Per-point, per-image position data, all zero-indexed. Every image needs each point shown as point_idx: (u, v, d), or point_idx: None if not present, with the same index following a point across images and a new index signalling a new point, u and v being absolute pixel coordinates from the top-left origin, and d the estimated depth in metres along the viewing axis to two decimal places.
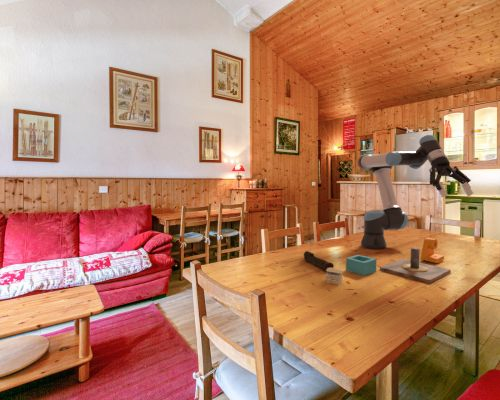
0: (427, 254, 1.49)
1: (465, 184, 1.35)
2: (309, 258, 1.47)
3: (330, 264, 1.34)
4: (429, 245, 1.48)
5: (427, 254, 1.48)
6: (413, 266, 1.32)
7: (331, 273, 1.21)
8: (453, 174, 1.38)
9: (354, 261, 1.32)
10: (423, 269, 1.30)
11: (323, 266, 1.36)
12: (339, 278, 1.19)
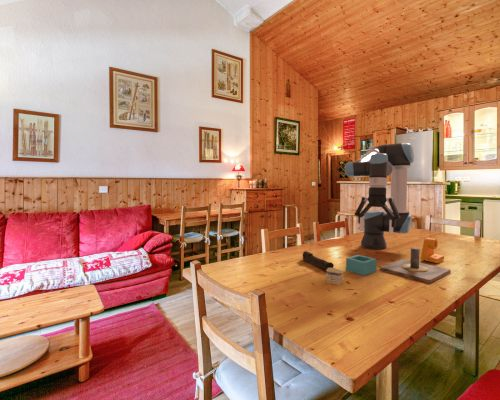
0: (427, 254, 1.49)
1: None
2: (308, 258, 1.47)
3: (330, 264, 1.34)
4: (429, 245, 1.48)
5: (427, 254, 1.48)
6: (413, 266, 1.32)
7: (331, 273, 1.21)
8: None
9: (354, 261, 1.32)
10: (423, 269, 1.30)
11: (323, 266, 1.36)
12: (339, 278, 1.19)
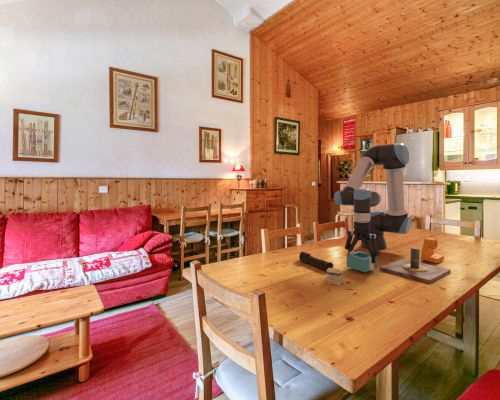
0: (427, 254, 1.49)
1: None
2: (306, 259, 1.47)
3: (330, 264, 1.34)
4: (429, 245, 1.48)
5: (427, 254, 1.48)
6: (413, 266, 1.32)
7: (331, 273, 1.20)
8: None
9: (355, 258, 1.32)
10: (423, 269, 1.30)
11: (323, 266, 1.36)
12: (339, 279, 1.18)
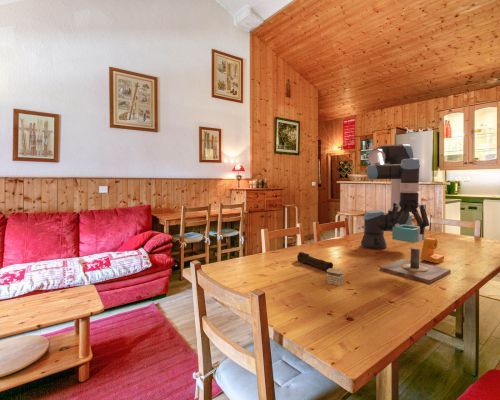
0: (427, 254, 1.49)
1: None
2: (305, 259, 1.46)
3: (330, 264, 1.35)
4: (429, 245, 1.48)
5: (427, 254, 1.48)
6: (413, 266, 1.32)
7: (332, 274, 1.20)
8: None
9: (402, 229, 1.30)
10: (423, 269, 1.30)
11: (323, 266, 1.36)
12: (339, 279, 1.18)
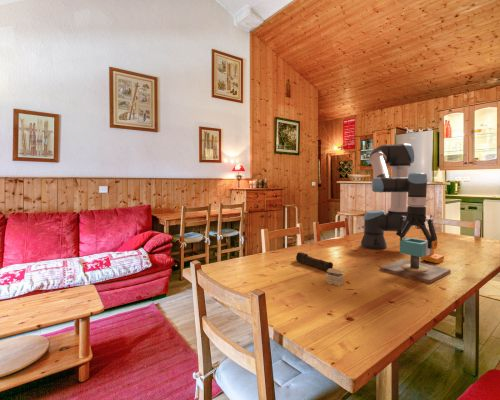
0: None
1: None
2: (304, 259, 1.46)
3: (330, 264, 1.35)
4: None
5: None
6: (413, 266, 1.32)
7: (332, 274, 1.20)
8: None
9: (409, 243, 1.30)
10: (423, 269, 1.30)
11: (323, 266, 1.36)
12: (339, 279, 1.18)
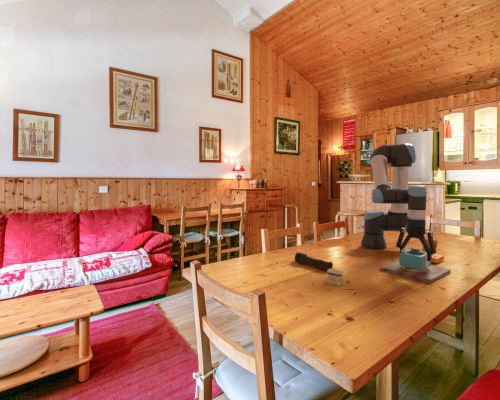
0: None
1: None
2: (303, 259, 1.45)
3: (330, 263, 1.35)
4: None
5: None
6: None
7: (332, 274, 1.20)
8: None
9: (409, 255, 1.30)
10: (423, 269, 1.30)
11: (323, 266, 1.36)
12: (339, 279, 1.17)
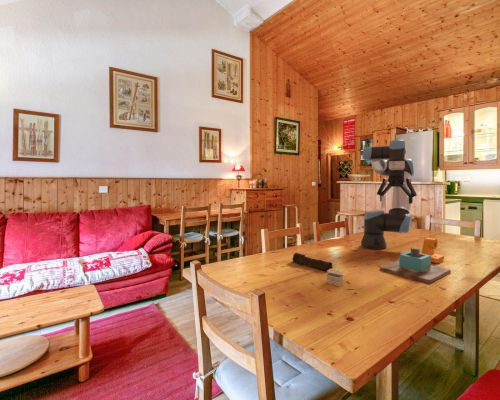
0: (427, 254, 1.49)
1: None
2: (302, 260, 1.45)
3: (330, 263, 1.35)
4: (429, 245, 1.48)
5: (427, 254, 1.48)
6: None
7: (332, 274, 1.20)
8: None
9: (409, 257, 1.30)
10: None
11: (323, 266, 1.36)
12: (339, 280, 1.17)
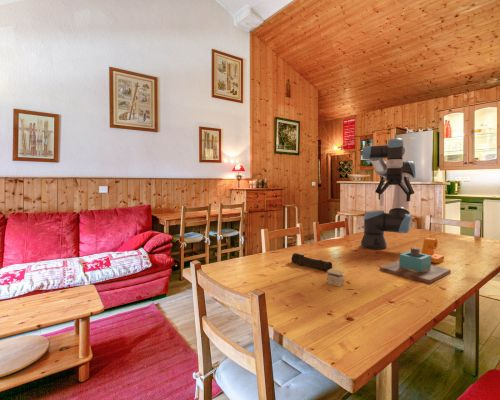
0: (427, 254, 1.49)
1: None
2: (301, 260, 1.44)
3: (330, 263, 1.35)
4: (429, 245, 1.48)
5: (427, 254, 1.48)
6: None
7: (332, 274, 1.19)
8: None
9: (409, 257, 1.30)
10: None
11: (323, 266, 1.35)
12: (340, 280, 1.17)
